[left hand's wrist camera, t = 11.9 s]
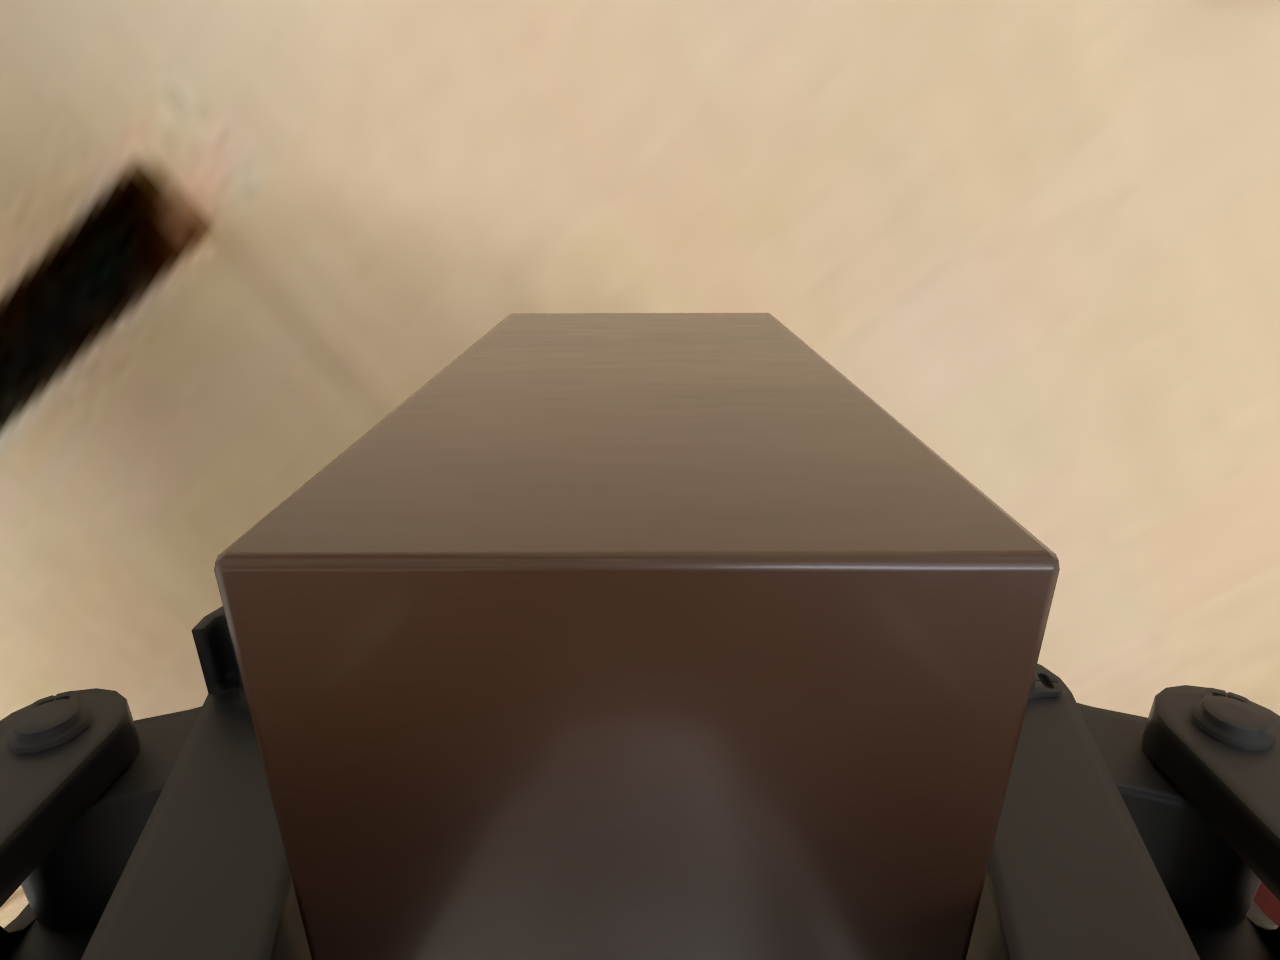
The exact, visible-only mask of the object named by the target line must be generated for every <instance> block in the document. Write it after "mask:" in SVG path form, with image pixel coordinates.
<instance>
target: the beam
mask: <svg viewBox="0 0 1280 960" xmlns="http://www.w3.org/2000/svg"><path fill="white" fill-rule="evenodd" d="M1059 570H1060V569H1059V562H1058V558H1057V556H1056V554H1055V553H1054V552H1052V551H1051V550H1050V549H1049V548H1048V547H1046V546H1045V545H1044V544H1043V543H1042V542H1041V541H1039V540H1038V539H1037V538H1036V537H1035V536H1033V535H1032V534H1031V533H1030V532H1029V531H1027V530H1026V529H1025V528H1024V527H1023V526H1022V525H1020V524H1019V523H1018V522H1017V521H1016V520H1014V519H1013V518H1012V517H1011V516H1010V515H1009V514H1007V513H1006V512H1005V511H1004V510H1003V509H1001V508H1000V507H999V506H998V505H997V504H995V503H994V502H993V501H992V500H991V499H990V498H988V497H987V496H986V495H985V494H984V493H982V492H981V491H980V490H979V489H978V488H976V487H975V486H974V485H973V484H972V483H971V482H969V481H968V480H967V479H966V478H965V477H963V476H962V475H961V474H960V473H959V472H957V471H956V470H955V469H954V468H953V467H952V466H950V465H949V464H948V463H947V462H946V461H944V460H943V459H942V458H941V457H940V456H938V455H937V454H936V453H935V452H934V451H933V450H931V449H930V448H929V447H928V446H927V445H925V444H924V443H923V442H922V441H921V440H919V439H918V438H917V437H916V436H915V435H914V434H912V433H911V432H910V431H909V430H908V429H906V428H905V427H904V426H903V425H902V424H900V423H899V422H898V421H897V420H896V419H895V418H893V417H892V416H891V415H890V414H889V413H887V412H886V411H885V410H884V409H883V408H881V407H880V406H879V405H878V404H877V403H876V402H874V401H873V400H872V399H871V398H870V397H868V396H867V395H866V394H865V393H864V392H863V391H861V390H860V389H859V388H858V387H857V386H855V385H854V384H853V383H852V382H851V381H849V380H848V379H847V378H846V377H845V376H844V375H842V374H841V373H840V372H839V371H838V370H836V369H835V368H834V367H833V366H832V365H830V364H829V363H828V362H827V361H826V360H825V359H823V358H822V357H821V356H820V355H819V354H817V353H816V352H815V351H814V350H813V349H811V348H810V347H809V346H808V345H807V344H806V343H804V342H803V341H802V340H801V339H800V338H798V337H797V336H796V335H795V334H794V333H792V332H791V331H790V330H789V329H788V328H787V327H785V326H784V325H783V324H782V323H781V322H779V321H778V320H777V319H776V318H775V317H773V316H772V315H771V314H769V313H608V314H511V315H509V316H508V317H506V318H505V319H504V320H503V321H501V322H500V323H499V324H498V325H497V326H495V327H494V328H493V329H492V330H491V331H489V332H488V333H487V334H486V335H485V336H483V337H482V338H481V339H480V340H479V341H477V342H476V343H475V344H474V345H472V346H471V347H470V348H469V349H468V350H466V351H465V352H464V353H463V354H462V355H460V356H459V357H458V358H457V359H456V360H454V361H453V362H452V363H451V364H449V365H448V366H447V367H446V368H445V369H443V370H442V371H441V372H440V373H439V374H437V375H436V376H435V377H434V378H433V379H431V380H430V381H429V382H428V383H427V384H425V385H424V386H423V387H422V388H420V389H419V390H418V391H417V392H416V393H414V394H413V395H412V396H411V397H410V398H408V399H407V400H406V401H405V402H404V403H402V404H401V405H400V406H399V407H397V408H396V409H395V410H394V411H393V412H391V413H390V414H389V415H388V416H387V417H385V418H384V419H383V420H382V421H381V422H379V423H378V424H377V425H376V426H375V427H373V428H372V429H371V430H370V431H368V432H367V433H366V434H365V435H364V436H362V437H361V438H360V439H359V440H358V441H356V442H355V443H354V444H353V445H352V446H350V447H349V448H348V449H347V450H345V451H344V452H343V453H342V454H341V455H339V456H338V457H337V458H336V459H335V460H333V461H332V462H331V463H330V464H329V465H327V466H326V467H325V468H324V469H322V470H321V471H320V472H319V473H318V474H316V475H315V476H314V477H313V478H312V479H310V480H309V481H308V482H307V483H306V484H304V485H303V486H302V487H301V488H300V489H298V490H297V491H296V492H295V493H293V494H292V495H291V496H290V497H289V498H287V499H286V500H285V501H284V502H283V503H281V504H280V505H279V506H278V507H277V508H275V509H274V510H273V511H272V512H270V513H269V514H268V515H267V516H266V517H264V518H263V519H262V520H261V521H260V522H258V523H257V524H256V525H255V526H254V527H252V528H251V529H250V530H249V531H248V532H246V533H245V534H244V535H243V536H241V537H240V538H239V539H238V540H237V541H235V542H234V543H233V544H232V545H231V546H229V547H228V548H227V549H226V550H225V551H223V552H222V553H221V554H220V555H218V557H217V560H216V562H215V570H214V571H215V575H216V579H217V583H218V587H219V591H220V595H221V599H222V603H223V607H224V611H225V615H226V619H227V623H228V627H229V631H230V635H231V639H232V643H233V647H234V651H235V655H236V659H237V663H238V667H239V671H240V675H241V679H242V683H243V687H244V691H245V695H246V699H247V703H248V707H249V711H250V715H251V719H252V723H253V727H254V730H255V734H256V738H257V742H258V746H259V750H260V754H261V758H262V762H263V766H264V770H265V774H266V778H267V782H268V786H269V790H270V794H271V798H272V802H273V806H274V810H275V814H276V818H277V822H278V826H279V830H280V834H281V838H282V842H283V846H284V850H285V854H286V858H287V862H288V866H289V870H290V874H291V878H292V882H293V886H294V890H295V894H296V898H297V902H298V906H299V910H300V914H301V918H302V922H303V926H304V930H305V934H306V938H307V942H308V946H309V950H310V954H311V958H312V960H966V957H967V953H968V948H969V944H970V940H971V936H972V932H973V928H974V923H975V919H976V915H977V911H978V907H979V903H980V898H981V894H982V890H983V886H984V882H985V878H986V873H987V869H988V865H989V861H990V857H991V853H992V848H993V844H994V840H995V836H996V832H997V828H998V824H999V819H1000V815H1001V811H1002V807H1003V803H1004V799H1005V794H1006V790H1007V786H1008V782H1009V778H1010V774H1011V769H1012V765H1013V761H1014V757H1015V753H1016V749H1017V744H1018V740H1019V736H1020V732H1021V728H1022V724H1023V719H1024V715H1025V711H1026V707H1027V703H1028V699H1029V694H1030V690H1031V686H1032V682H1033V678H1034V674H1035V669H1036V665H1037V661H1038V657H1039V653H1040V649H1041V644H1042V640H1043V636H1044V632H1045V628H1046V624H1047V620H1048V615H1049V611H1050V607H1051V603H1052V599H1053V595H1054V590H1055V586H1056V582H1057V578H1058V574H1059Z"/></svg>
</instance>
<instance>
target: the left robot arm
mask: <svg viewBox="0 0 1280 960" xmlns="http://www.w3.org/2000/svg"><path fill="white" fill-rule="evenodd" d="M192 633H193V637H194V641H195V645H196V648H197V652H198V656H199V659H200V663H201V667H202V671H203V674H204V678H205V682H206V685H207V689H208V693H209V694H208V696H207V698H206V700H205V702H204V704H203V706H202V707H198V708H194V709H190V710H186V711H181V712H176V713H171V714H166V715H161V716H156V717H151V718H146V719H141V720H136V721H133V718H132V715H131V712H130V709H129V706H128V703H127V700H126V699H125V698H124V697H123V696H121V695H120V694H119V693H117V692H116V691H111V690H104V689H97V688H95V689H87V690H79V691H69V692H64V693H60V694H57V695H56V696H53V695H52V696H49V697H46V698H43V699H40V700H38V701H36V702H34V703H33V704H31V705H29V706H27V707H24V708H22V709H20V710H18V711H16V712H13V713H11V714H10V715H8V716H7V717H5V718H4V719H2V720H1V721H0V907H1V906H2V905H3V904H4V903H5V902H6V901H7V900H8V898H9V897H10V896H11V895H12V894H13V893H14V892H15V891H16V890H17V888H18V887H19V886H20V885H21V886H22V888H23V890H24V893H25V895H26V897H27V899H28V902H29V904H28V905H27V906H26V907H25V908H24V910H23V911H22V912H21V913H20V914H19V915H18V917H17V918H16V919H14V920H13V921H12V922H11V923H10V924H8V925H7V926H6V927H5V928H4V929H3V928H2V927H1V926H0V960H312V958H311V954H310V950H309V946H308V942H307V938H306V934H305V930H304V926H303V922H302V918H301V914H300V910H299V906H298V902H297V898H296V894H295V890H294V886H293V882H292V878H291V874H290V870H289V866H288V862H287V858H286V854H285V850H284V846H283V842H282V838H281V834H280V830H279V826H278V822H277V818H276V814H275V810H274V806H273V802H272V798H271V794H270V790H269V786H268V782H267V778H266V774H265V770H264V766H263V762H262V758H261V754H260V750H259V746H258V742H257V738H256V734H255V730H254V727H253V723H252V719H251V715H250V711H249V707H248V703H247V699H246V695H245V691H244V687H243V683H242V679H241V675H240V671H239V667H238V663H237V659H236V655H235V651H234V647H233V643H232V639H231V635H230V631H229V627H228V623H227V619H226V615H225V611H224V607H223V606H222V607H221V608H219V609H217V610H216V611H214V612H212V613H210V614H209V615H207V616H205V617H204V618H203V619H202V620H201V621H200V622H199V623H198V624H197V625H196V626H195V627H194V628H193V629H192ZM1261 881H1262V882H1263V883H1264V885H1265V886H1266V887H1267V888H1268V889H1269V890H1270V891H1271V892H1272V893H1273V895H1274V896H1275V897H1276V898H1277V899H1278V900H1279V901H1280V716H1278V715H1277V714H1275V713H1274V712H1272V711H1271V710H1269V709H1267V708H1265V707H1262V706H1260V705H1258V704H1256V703H1254V702H1251V701H1249V700H1248V699H1247V698H1245V697H1242V696H1240V695H1237V694H1233V693H1230V692H1229V693H1226V692H1225V691H1223V690H1219V689H1214V688H1204V687H1196V686H1187V685H1184V686H1177V687H1169V688H1165V689H1164V690H1163V691H1161V692H1160V693H1159V694H1157V695H1156V696H1155V699H1154V702H1153V705H1152V708H1151V711H1150V714H1149V717H1148V718H1146V717H1141V716H1136V715H1131V714H1126V713H1120V712H1115V711H1110V710H1105V709H1100V708H1095V707H1091V706H1087V705H1083V704H1079V703H1076V701H1075V699H1074V697H1073V695H1072V693H1071V691H1070V690H1069V689H1068V688H1067V686H1066V685H1065V684H1064V683H1063V681H1062V680H1061V679H1060V678H1059V677H1058V676H1056V675H1055V674H1053V673H1052V672H1050V671H1049V670H1047V669H1046V668H1044V667H1043V666H1042V665H1039V664H1037V665H1036V669H1035V674H1034V678H1033V682H1032V686H1031V690H1030V694H1029V699H1028V703H1027V707H1026V711H1025V715H1024V719H1023V724H1022V728H1021V732H1020V736H1019V740H1018V744H1017V749H1016V753H1015V757H1014V761H1013V765H1012V769H1011V774H1010V778H1009V782H1008V786H1007V790H1006V794H1005V799H1004V803H1003V807H1002V811H1001V815H1000V819H999V824H998V828H997V832H996V836H995V840H994V844H993V848H992V853H991V857H990V861H989V865H988V869H987V873H986V878H985V882H984V886H983V890H982V894H981V898H980V903H979V907H978V911H977V915H976V919H975V923H974V928H973V932H972V936H971V940H970V944H969V948H968V953H967V957H966V960H1280V926H1278V925H1276V924H1275V923H1274V922H1273V921H1272V920H1270V919H1269V918H1268V917H1267V916H1266V915H1265V914H1264V913H1263V912H1262V910H1261V909H1260V908H1259V907H1258V906H1257V905H1256V904H1255V902H1254V901H1253V899H1254V897H1255V894H1256V892H1257V890H1258V887H1259V885H1260V883H1261Z"/></svg>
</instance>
